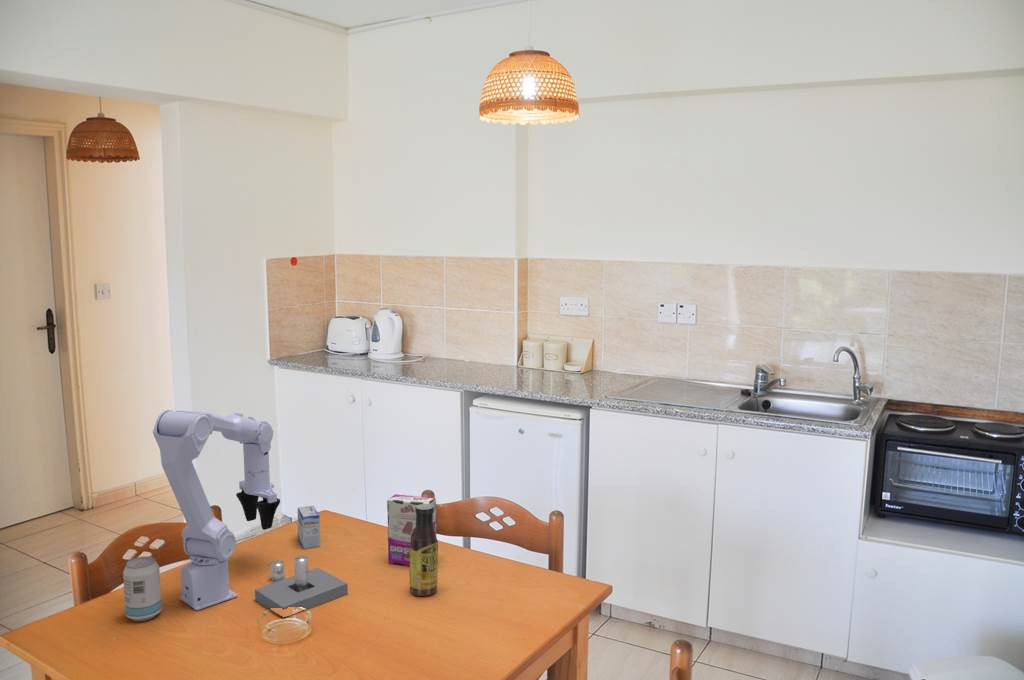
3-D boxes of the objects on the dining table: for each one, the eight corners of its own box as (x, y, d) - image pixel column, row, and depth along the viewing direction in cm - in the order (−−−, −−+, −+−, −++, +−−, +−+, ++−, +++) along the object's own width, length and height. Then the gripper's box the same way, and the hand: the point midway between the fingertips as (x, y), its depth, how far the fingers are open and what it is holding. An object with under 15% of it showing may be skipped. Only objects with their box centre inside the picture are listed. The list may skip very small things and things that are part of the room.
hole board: (283, 618, 168) (283, 607, 168) (255, 600, 176) (254, 589, 176) (347, 594, 180) (347, 583, 179) (318, 577, 188) (317, 567, 188)
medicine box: (297, 538, 211) (296, 507, 210) (314, 536, 213) (313, 504, 212) (303, 549, 204) (302, 517, 203) (321, 546, 206) (320, 514, 205)
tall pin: (300, 601, 176) (299, 562, 175) (292, 597, 178) (291, 558, 177) (312, 596, 178) (310, 558, 177) (304, 592, 180) (303, 554, 179)
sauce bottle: (424, 600, 177) (423, 514, 174) (403, 592, 181) (402, 507, 178) (444, 589, 182) (443, 505, 179) (424, 582, 186) (423, 500, 183)
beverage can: (169, 610, 172) (166, 557, 170) (146, 625, 165) (143, 570, 163) (142, 606, 173) (138, 553, 172) (118, 621, 167) (114, 566, 165)
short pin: (275, 583, 185) (275, 566, 184) (268, 579, 187) (268, 563, 186) (287, 579, 187) (286, 562, 187) (280, 575, 189) (279, 559, 189)
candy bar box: (437, 561, 197) (437, 497, 195) (429, 569, 193) (429, 504, 190) (396, 555, 201) (395, 492, 198) (387, 563, 196) (386, 499, 194)
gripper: (287, 472, 189) (289, 527, 191) (257, 460, 199) (259, 512, 201) (260, 479, 184) (262, 535, 186) (230, 465, 194) (232, 519, 196)
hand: (259, 524), depth 193 cm, fingers open, 7 cm apart
